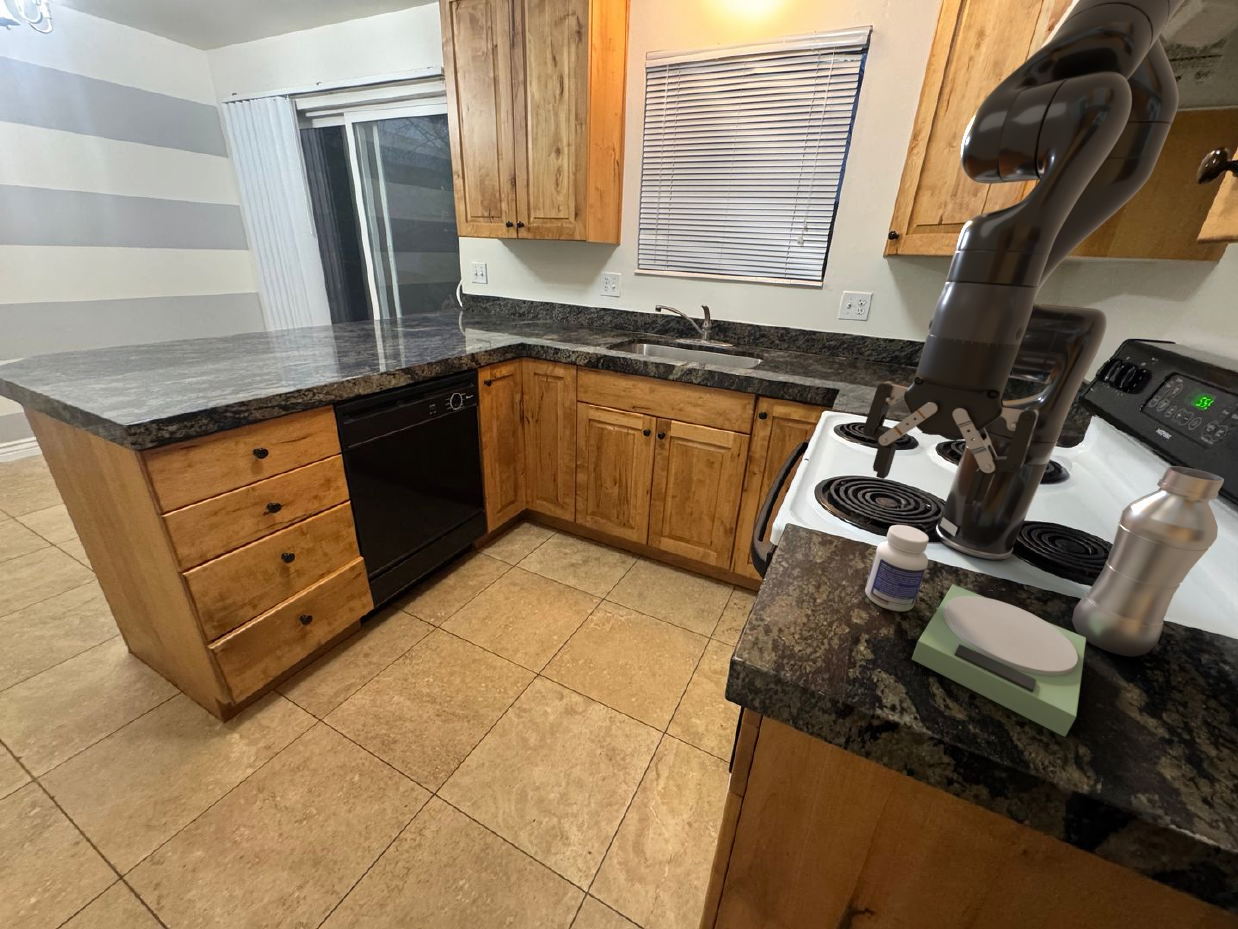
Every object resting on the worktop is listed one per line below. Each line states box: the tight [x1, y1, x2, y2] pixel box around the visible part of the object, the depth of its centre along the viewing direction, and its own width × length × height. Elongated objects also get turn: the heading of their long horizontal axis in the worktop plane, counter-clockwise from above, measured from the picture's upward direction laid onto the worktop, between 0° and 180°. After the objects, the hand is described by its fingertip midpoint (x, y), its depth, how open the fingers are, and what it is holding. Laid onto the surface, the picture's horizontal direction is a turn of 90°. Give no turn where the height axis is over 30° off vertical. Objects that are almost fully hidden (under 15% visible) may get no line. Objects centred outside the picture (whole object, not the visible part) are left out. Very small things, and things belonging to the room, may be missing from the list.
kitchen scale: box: [911, 584, 1087, 738], centre depth 50 cm, size 14×12×3 cm
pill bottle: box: [864, 524, 930, 612], centre depth 57 cm, size 5×5×9 cm
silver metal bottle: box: [1071, 465, 1225, 657], centre depth 50 cm, size 6×7×20 cm
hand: (923, 489), depth 53 cm, fingers open, 8 cm apart
